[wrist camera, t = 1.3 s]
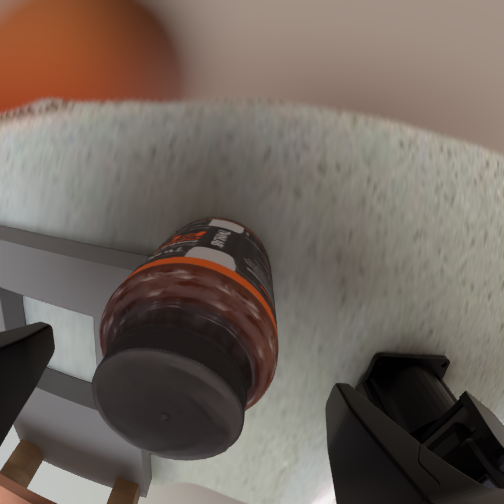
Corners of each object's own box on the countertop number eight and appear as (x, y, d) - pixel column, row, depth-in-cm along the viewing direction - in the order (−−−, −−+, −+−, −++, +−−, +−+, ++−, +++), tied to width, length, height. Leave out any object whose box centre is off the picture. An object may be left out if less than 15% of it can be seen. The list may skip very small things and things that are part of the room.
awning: (142, 461, 19) (117, 539, 12) (146, 497, 21) (128, 562, 14) (6, 408, 19) (-36, 461, 12) (25, 451, 20) (-6, 501, 13)
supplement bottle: (209, 191, 17) (126, 246, 6) (293, 264, 18) (342, 410, 7) (144, 272, 18) (34, 397, 7) (222, 335, 19) (194, 499, 8)
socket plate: (154, 257, 18) (140, 272, 15) (151, 478, 23) (146, 497, 21) (-7, 224, 17) (-29, 231, 15) (35, 436, 23) (25, 451, 20)
